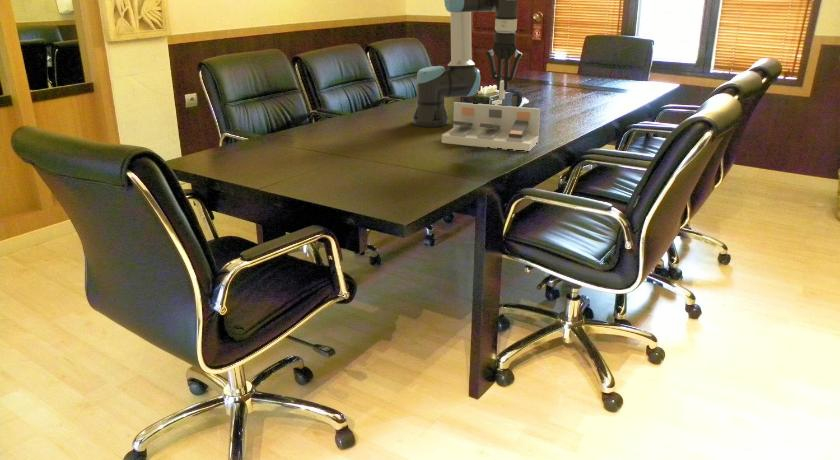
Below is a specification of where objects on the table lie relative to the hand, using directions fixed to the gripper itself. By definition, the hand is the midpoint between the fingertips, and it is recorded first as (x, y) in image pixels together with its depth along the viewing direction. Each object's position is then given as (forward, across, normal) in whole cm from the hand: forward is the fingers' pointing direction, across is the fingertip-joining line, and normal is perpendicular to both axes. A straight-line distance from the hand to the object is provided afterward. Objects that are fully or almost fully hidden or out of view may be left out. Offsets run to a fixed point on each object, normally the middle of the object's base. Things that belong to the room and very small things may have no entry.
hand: (501, 99), depth 233 cm
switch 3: (+11, +6, +3) cm, 13 cm away
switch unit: (+18, -4, +3) cm, 19 cm away
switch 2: (+11, -5, +3) cm, 12 cm away
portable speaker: (+19, -17, +62) cm, 67 cm away
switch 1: (+11, -16, +3) cm, 20 cm away
